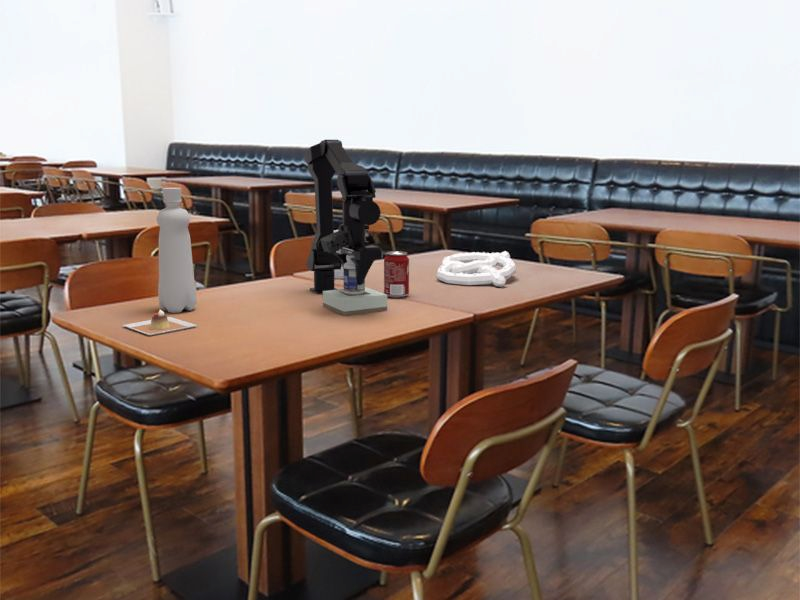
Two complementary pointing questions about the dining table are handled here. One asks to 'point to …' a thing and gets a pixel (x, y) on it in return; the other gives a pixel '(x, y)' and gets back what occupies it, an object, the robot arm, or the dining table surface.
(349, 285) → the pill bottle
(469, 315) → the dining table surface
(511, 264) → the white coiled rope knot
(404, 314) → the dining table surface
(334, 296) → the bore block
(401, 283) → the soda can
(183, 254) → the bottle
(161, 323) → the dessert
